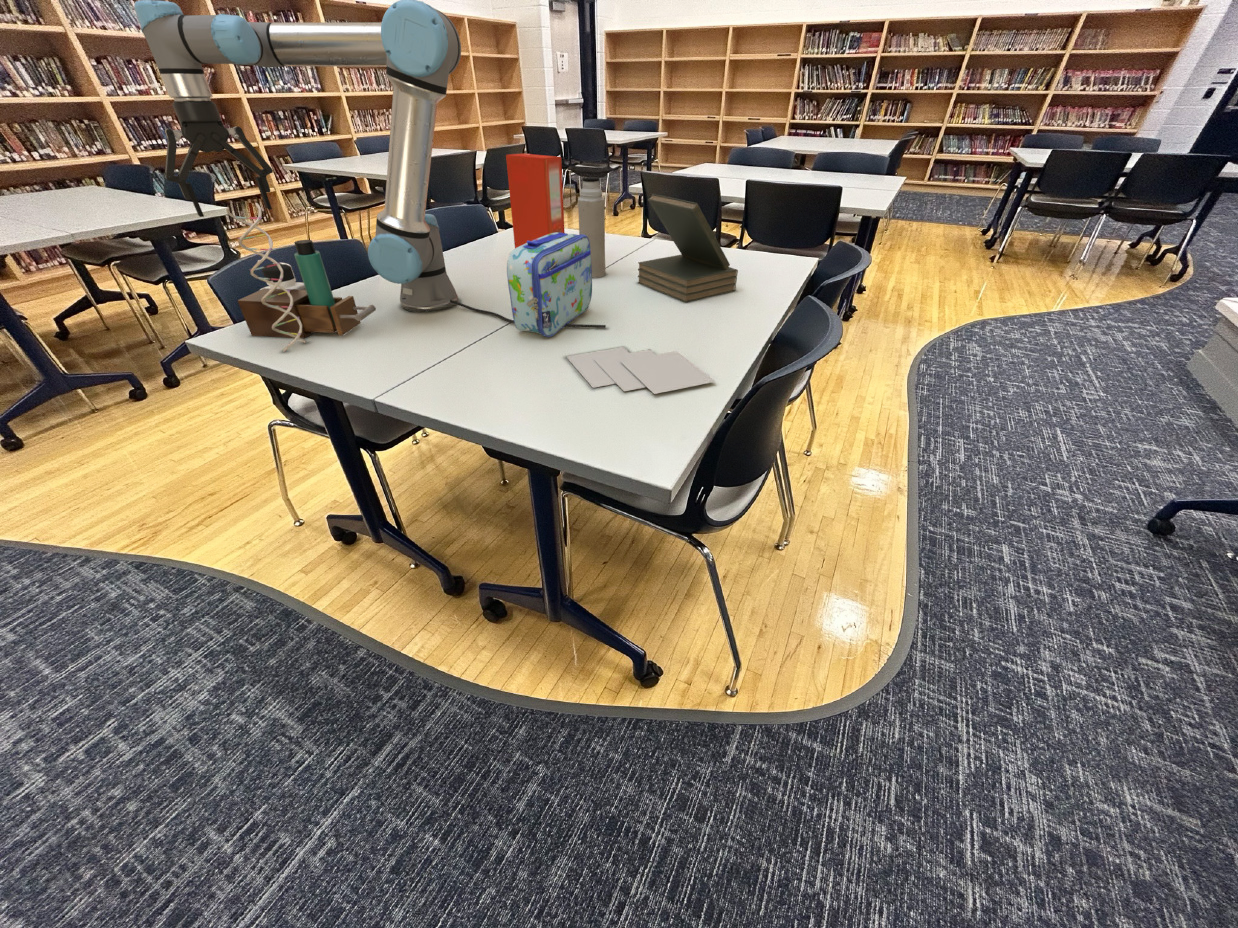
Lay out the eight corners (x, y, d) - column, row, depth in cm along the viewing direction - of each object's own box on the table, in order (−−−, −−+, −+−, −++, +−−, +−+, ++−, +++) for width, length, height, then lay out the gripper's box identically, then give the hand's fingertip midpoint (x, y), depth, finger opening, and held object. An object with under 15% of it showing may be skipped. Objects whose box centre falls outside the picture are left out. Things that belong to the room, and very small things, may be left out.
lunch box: (546, 344, 124) (538, 250, 112) (508, 336, 128) (497, 245, 116) (598, 310, 143) (596, 227, 131) (564, 305, 147) (559, 223, 135)
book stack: (735, 291, 158) (747, 198, 144) (685, 302, 149) (692, 205, 135) (685, 273, 174) (691, 188, 159) (637, 283, 165) (639, 193, 150)
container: (296, 321, 136) (277, 269, 129) (270, 319, 137) (250, 267, 130) (316, 311, 142) (299, 261, 135) (290, 309, 143) (273, 259, 136)
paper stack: (609, 406, 99) (609, 403, 99) (565, 356, 118) (565, 353, 118) (715, 384, 107) (716, 381, 107) (659, 340, 126) (659, 338, 125)
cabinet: (326, 324, 135) (315, 290, 130) (304, 338, 127) (291, 302, 122) (276, 322, 136) (263, 288, 131) (251, 336, 128) (236, 300, 123)
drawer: (381, 324, 132) (374, 296, 128) (364, 336, 125) (356, 308, 122) (313, 321, 134) (304, 294, 130) (293, 333, 127) (283, 305, 123)
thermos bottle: (575, 275, 171) (571, 177, 155) (591, 270, 177) (588, 175, 161) (595, 279, 168) (592, 180, 152) (610, 273, 173) (609, 177, 157)
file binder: (532, 254, 194) (523, 153, 176) (566, 262, 185) (561, 156, 167) (515, 258, 189) (505, 155, 171) (549, 266, 180) (542, 158, 162)
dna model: (290, 355, 119) (234, 208, 101) (273, 349, 121) (215, 205, 104) (317, 345, 123) (268, 203, 106) (299, 339, 126) (249, 200, 109)
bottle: (345, 320, 131) (320, 239, 120) (333, 328, 127) (307, 244, 116) (325, 319, 132) (299, 238, 121) (313, 327, 127) (285, 243, 116)
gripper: (256, 99, 118) (290, 203, 131) (115, 101, 105) (168, 217, 117) (264, 99, 114) (299, 207, 126) (117, 101, 100) (172, 222, 113)
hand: (236, 212), depth 122 cm, fingers open, 13 cm apart
